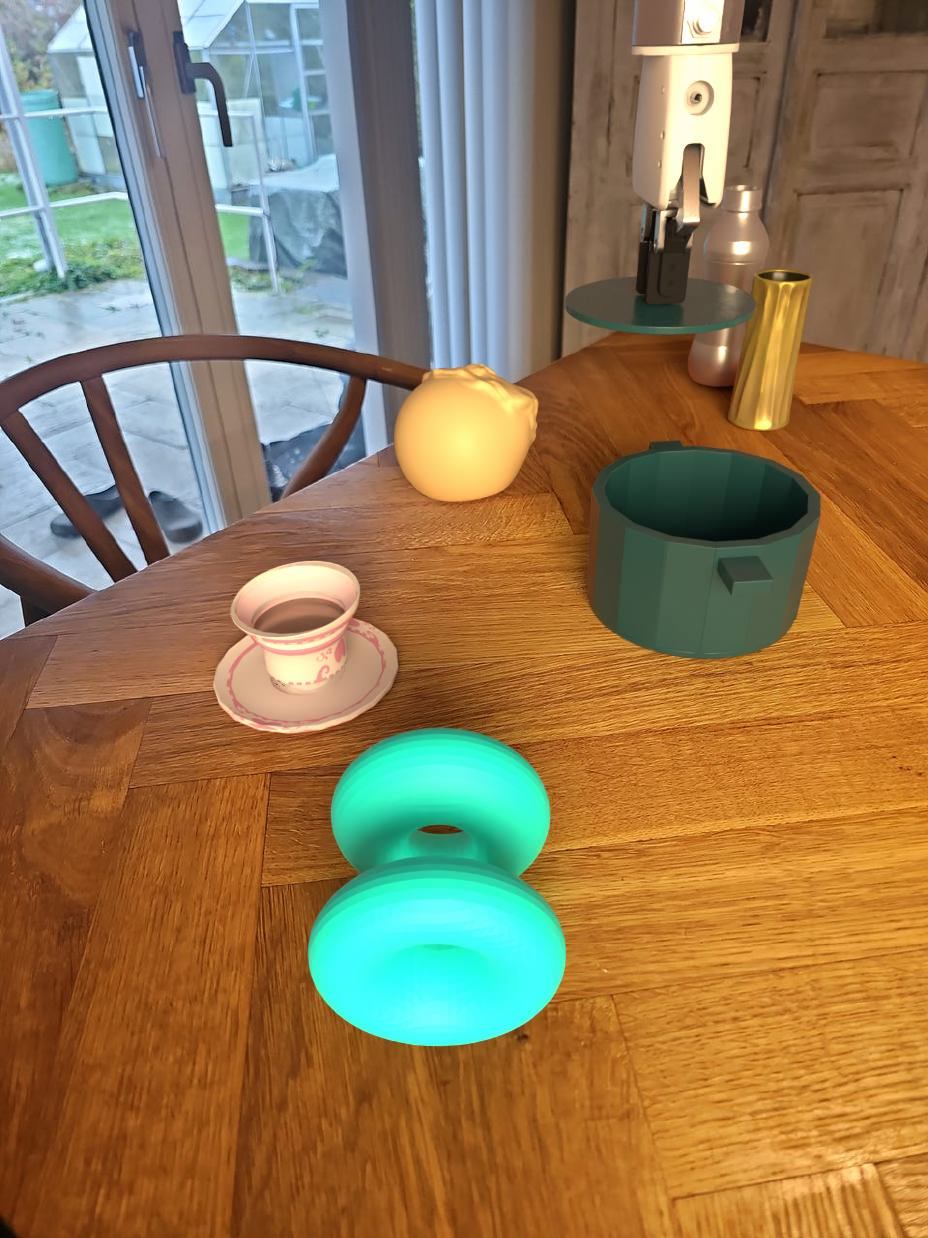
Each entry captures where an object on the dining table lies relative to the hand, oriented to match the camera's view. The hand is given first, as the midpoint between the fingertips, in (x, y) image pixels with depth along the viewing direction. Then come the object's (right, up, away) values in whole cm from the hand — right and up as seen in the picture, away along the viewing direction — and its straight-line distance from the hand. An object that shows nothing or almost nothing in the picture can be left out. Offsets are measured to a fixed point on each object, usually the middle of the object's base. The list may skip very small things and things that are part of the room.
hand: (659, 295), depth 70 cm
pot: (0, -25, -9) cm, 27 cm away
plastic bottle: (+12, 0, +26) cm, 29 cm away
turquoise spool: (-17, -42, -32) cm, 56 cm away
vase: (+14, -7, +17) cm, 23 cm away
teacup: (-26, -31, -15) cm, 43 cm away
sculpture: (-16, -15, +7) cm, 23 cm away
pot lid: (0, -1, 0) cm, 1 cm away
